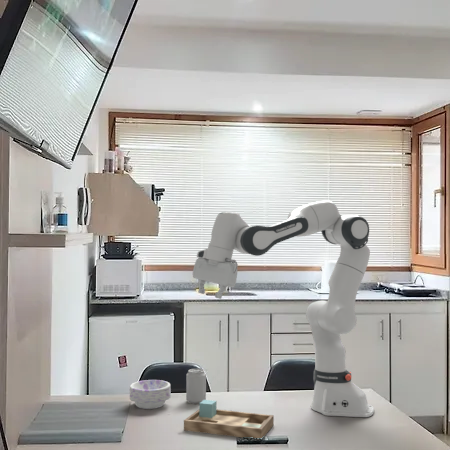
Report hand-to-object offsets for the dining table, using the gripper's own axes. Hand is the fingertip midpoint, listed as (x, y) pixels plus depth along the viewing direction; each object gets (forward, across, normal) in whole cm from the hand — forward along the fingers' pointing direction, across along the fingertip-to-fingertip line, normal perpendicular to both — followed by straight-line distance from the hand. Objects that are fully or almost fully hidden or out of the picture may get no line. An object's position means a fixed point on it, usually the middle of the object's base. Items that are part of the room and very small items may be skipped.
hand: (209, 295), depth 192 cm
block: (+39, -4, -8) cm, 40 cm away
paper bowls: (+45, +24, -4) cm, 51 cm away
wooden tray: (+40, -14, -10) cm, 44 cm away
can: (+41, +18, -20) cm, 49 cm away
